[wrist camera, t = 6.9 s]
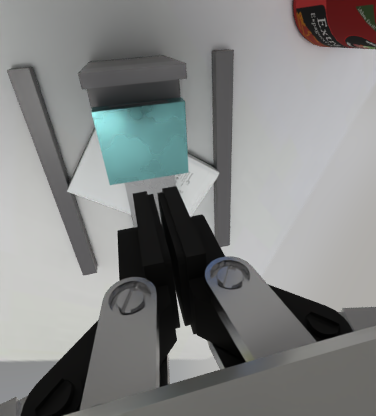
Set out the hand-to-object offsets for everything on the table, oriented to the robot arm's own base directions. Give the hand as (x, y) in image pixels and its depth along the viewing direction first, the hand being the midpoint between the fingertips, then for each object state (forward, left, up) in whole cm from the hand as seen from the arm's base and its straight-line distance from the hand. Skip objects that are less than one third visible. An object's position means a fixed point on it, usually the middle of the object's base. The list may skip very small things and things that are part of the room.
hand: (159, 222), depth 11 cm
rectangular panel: (+6, 0, -10) cm, 12 cm away
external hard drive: (+6, 0, -17) cm, 18 cm away
